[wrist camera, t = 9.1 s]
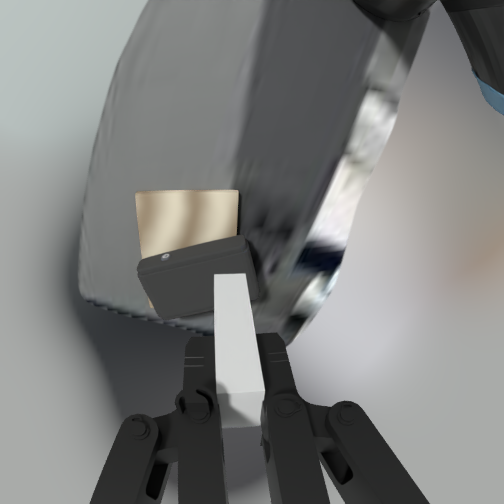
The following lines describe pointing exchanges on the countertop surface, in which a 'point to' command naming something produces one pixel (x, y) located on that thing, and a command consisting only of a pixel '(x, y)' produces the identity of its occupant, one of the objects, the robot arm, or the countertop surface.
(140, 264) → the card reader
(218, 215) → the birch board
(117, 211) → the countertop surface
